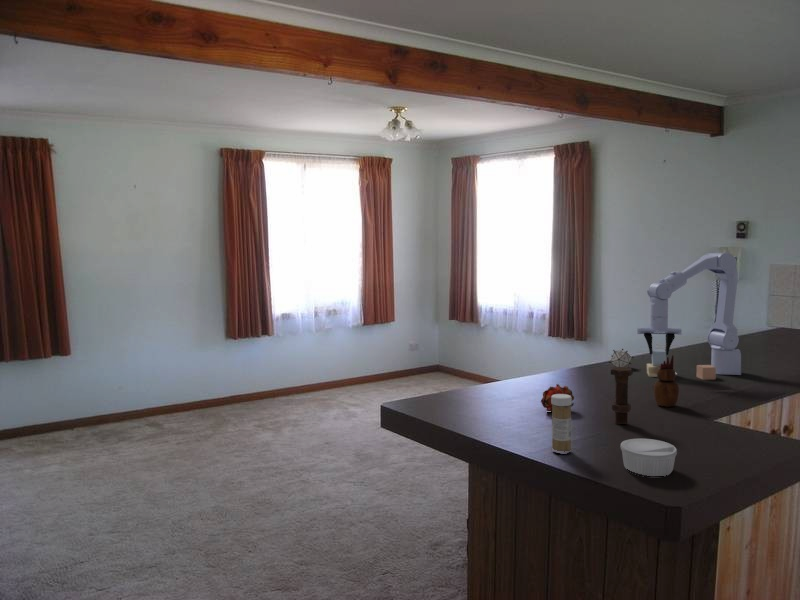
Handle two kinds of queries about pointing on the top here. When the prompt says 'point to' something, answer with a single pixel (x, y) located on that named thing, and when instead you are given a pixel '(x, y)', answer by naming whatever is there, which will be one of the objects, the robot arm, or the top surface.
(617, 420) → the bolt
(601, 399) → the top surface
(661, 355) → the blue-grey block
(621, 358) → the game die
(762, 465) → the top surface
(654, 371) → the maple base block
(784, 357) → the top surface
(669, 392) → the wooden figurine
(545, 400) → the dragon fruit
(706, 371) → the terracotta block
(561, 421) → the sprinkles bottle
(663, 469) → the ramekin
